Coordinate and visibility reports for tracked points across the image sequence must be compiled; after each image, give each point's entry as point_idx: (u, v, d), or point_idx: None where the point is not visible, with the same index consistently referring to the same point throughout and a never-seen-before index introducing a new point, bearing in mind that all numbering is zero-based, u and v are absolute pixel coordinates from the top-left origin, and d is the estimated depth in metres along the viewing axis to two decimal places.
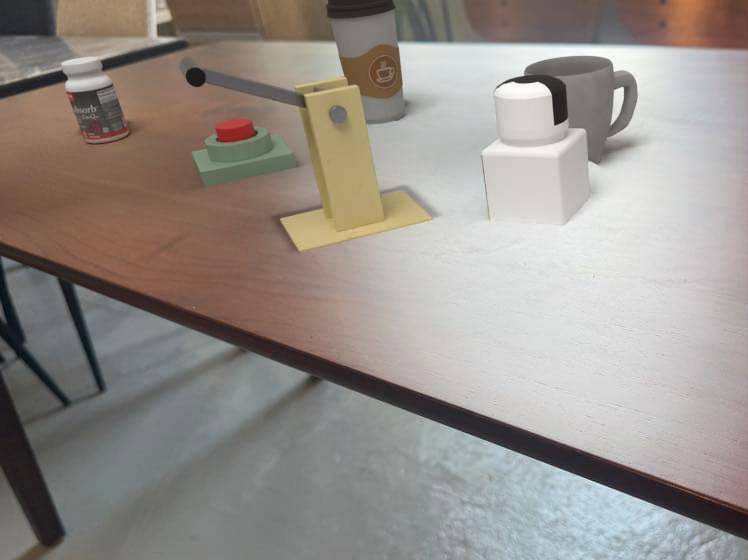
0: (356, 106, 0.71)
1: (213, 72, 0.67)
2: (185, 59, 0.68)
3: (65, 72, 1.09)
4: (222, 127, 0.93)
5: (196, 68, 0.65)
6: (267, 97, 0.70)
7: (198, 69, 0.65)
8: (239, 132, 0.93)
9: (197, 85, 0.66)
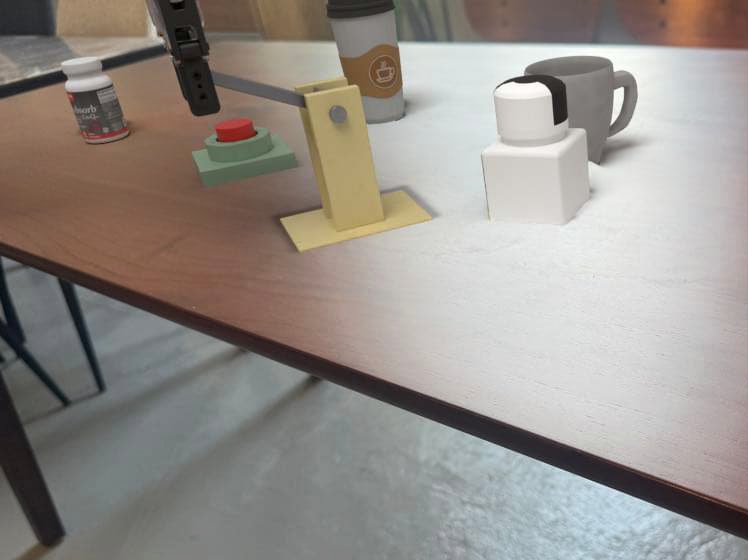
0: (356, 106, 0.71)
1: (213, 72, 0.67)
2: None
3: (65, 72, 1.09)
4: (222, 127, 0.93)
5: None
6: (267, 97, 0.70)
7: None
8: (239, 132, 0.93)
9: None
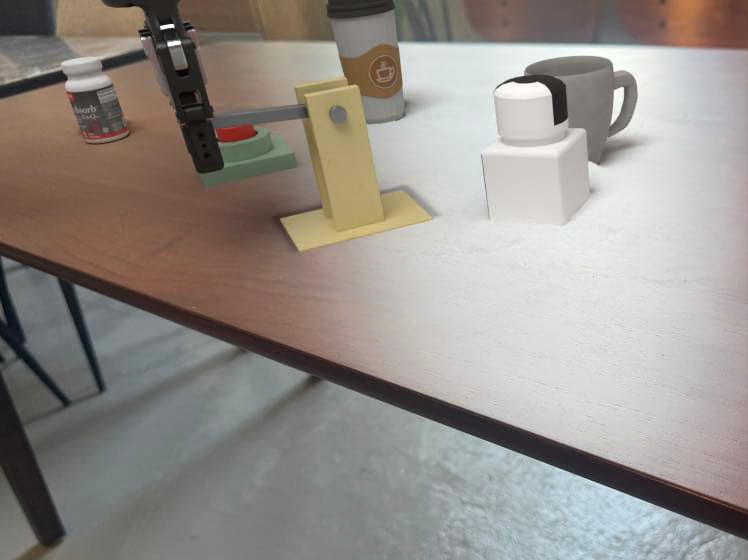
0: (356, 106, 0.71)
1: None
2: None
3: (65, 72, 1.09)
4: None
5: None
6: (269, 121, 0.71)
7: None
8: (239, 132, 0.93)
9: None
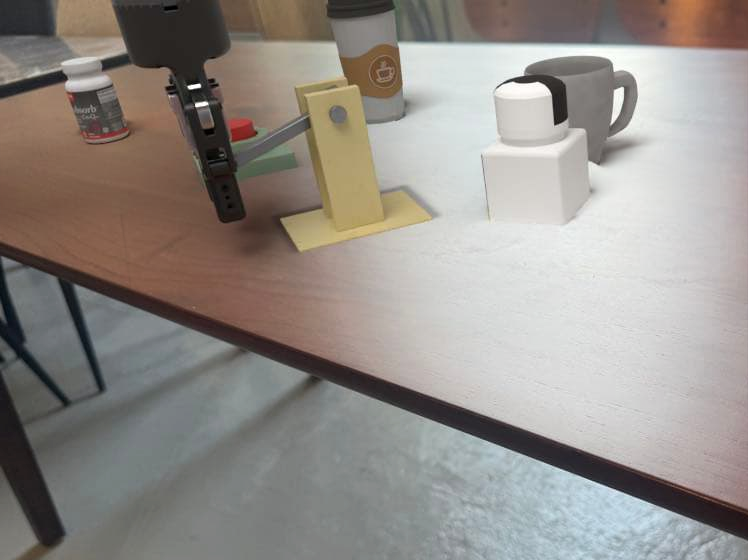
0: (356, 106, 0.71)
1: None
2: None
3: (65, 72, 1.09)
4: None
5: None
6: (279, 144, 0.72)
7: None
8: (239, 132, 0.93)
9: None
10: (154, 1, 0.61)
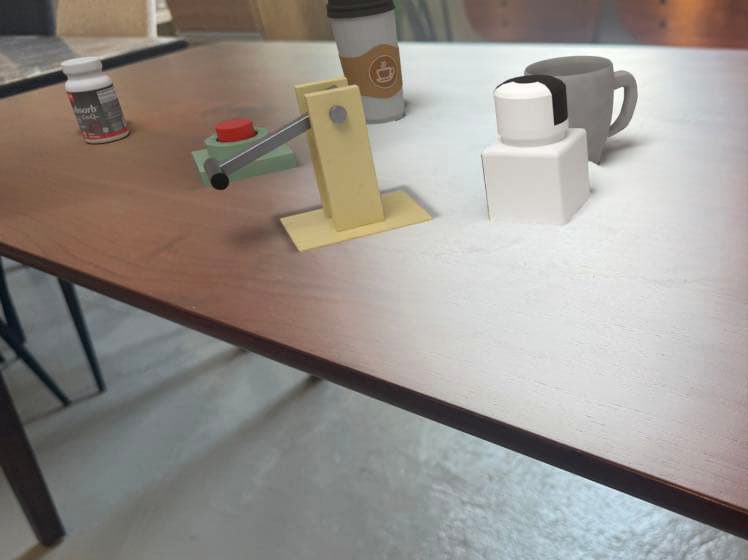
0: (356, 106, 0.71)
1: (229, 161, 0.71)
2: (205, 165, 0.72)
3: (65, 72, 1.09)
4: (222, 127, 0.93)
5: (214, 175, 0.69)
6: (280, 144, 0.72)
7: (216, 174, 0.69)
8: (239, 132, 0.93)
9: (226, 186, 0.70)
10: None
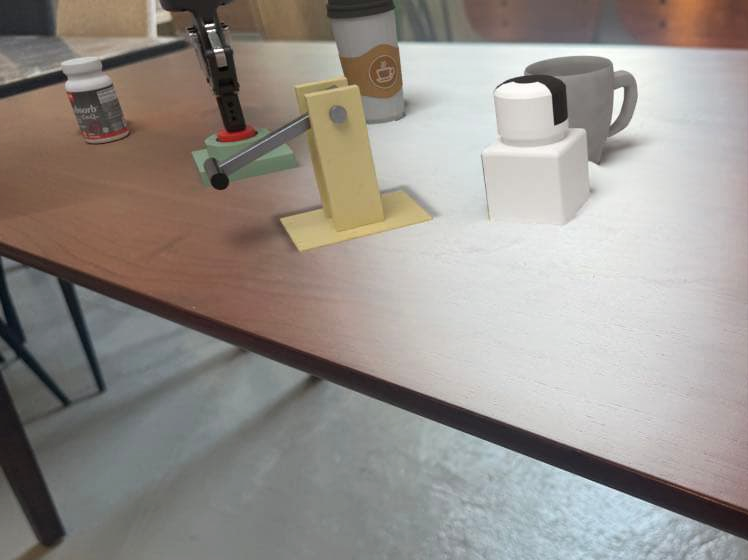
0: (356, 106, 0.71)
1: (229, 161, 0.71)
2: (205, 165, 0.72)
3: (65, 72, 1.09)
4: (224, 134, 0.94)
5: (214, 175, 0.69)
6: (280, 144, 0.72)
7: (216, 174, 0.69)
8: (241, 139, 0.93)
9: (226, 186, 0.70)
10: None
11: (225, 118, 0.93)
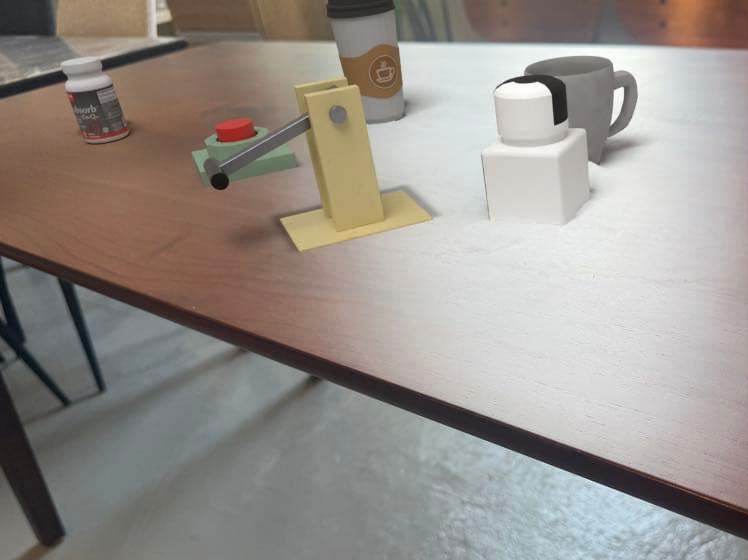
0: (356, 106, 0.71)
1: (229, 161, 0.71)
2: (205, 165, 0.72)
3: (65, 72, 1.09)
4: (222, 127, 0.93)
5: (214, 175, 0.69)
6: (280, 144, 0.72)
7: (216, 174, 0.69)
8: (239, 132, 0.93)
9: (226, 186, 0.70)
10: None
11: None
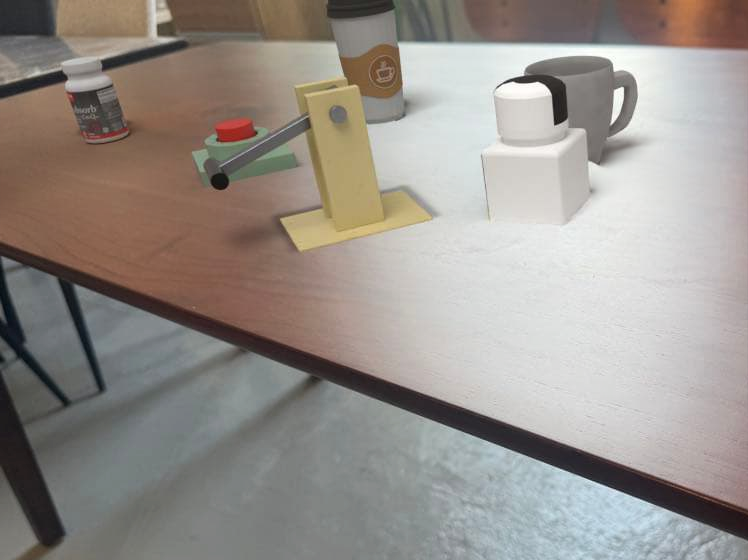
0: (356, 106, 0.71)
1: (229, 161, 0.71)
2: (205, 165, 0.72)
3: (65, 72, 1.09)
4: (222, 127, 0.93)
5: (214, 175, 0.69)
6: (280, 144, 0.72)
7: (216, 174, 0.69)
8: (239, 132, 0.93)
9: (226, 186, 0.70)
10: None
11: None
